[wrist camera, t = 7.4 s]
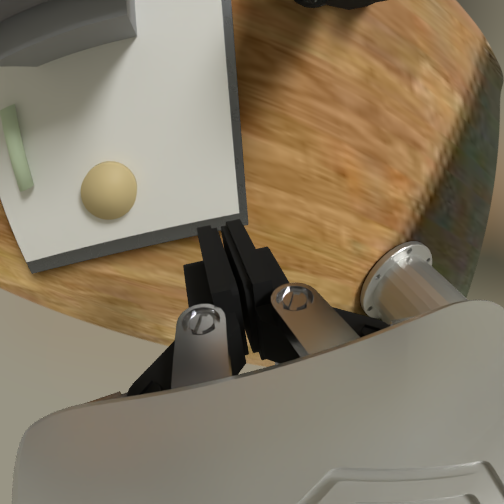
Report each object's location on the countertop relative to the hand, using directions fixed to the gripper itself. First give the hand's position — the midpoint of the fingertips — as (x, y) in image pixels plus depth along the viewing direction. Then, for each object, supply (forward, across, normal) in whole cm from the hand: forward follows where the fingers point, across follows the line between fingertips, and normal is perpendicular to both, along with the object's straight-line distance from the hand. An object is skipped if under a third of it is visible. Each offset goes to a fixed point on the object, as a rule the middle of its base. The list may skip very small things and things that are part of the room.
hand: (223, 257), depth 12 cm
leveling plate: (+12, +6, -8) cm, 15 cm away
